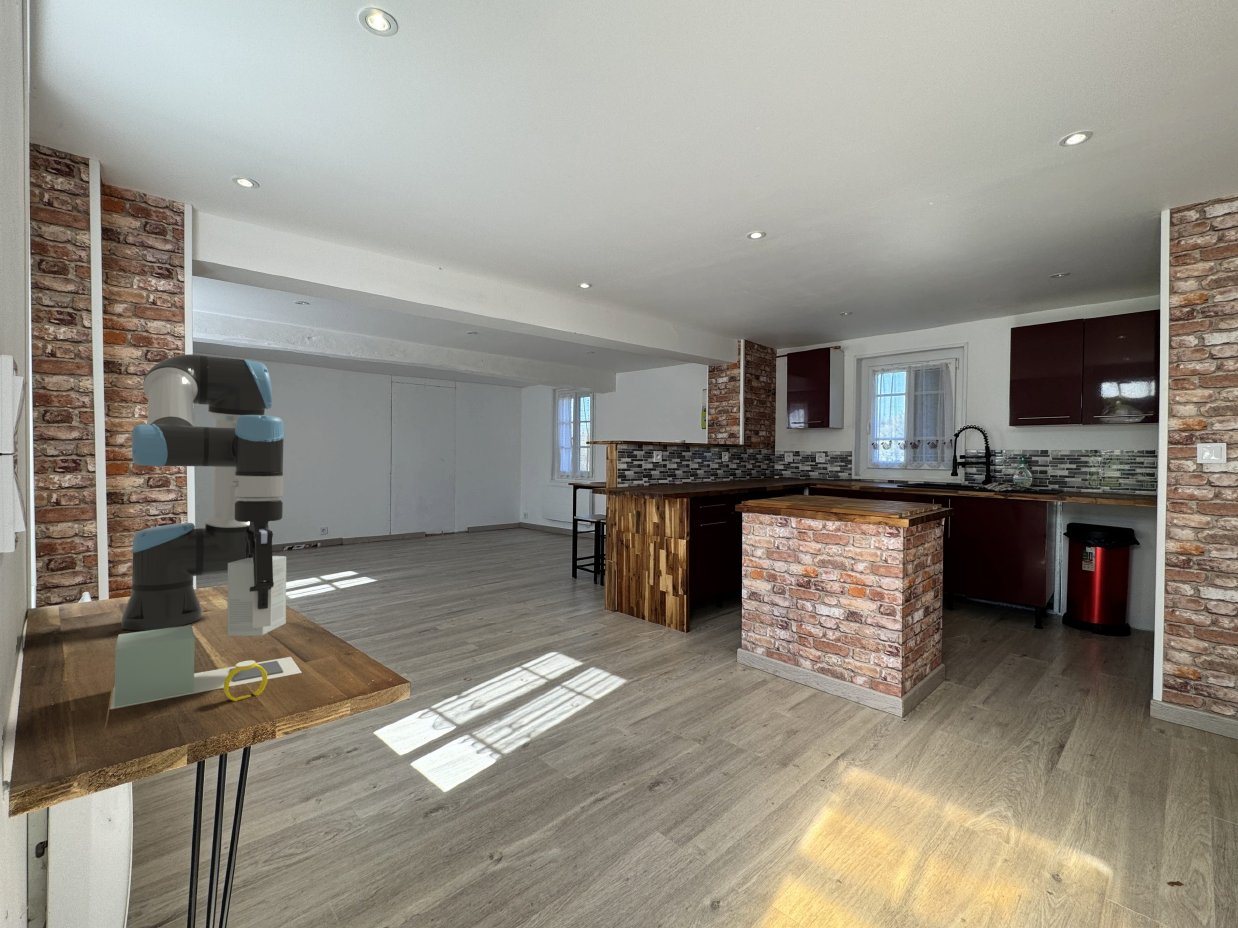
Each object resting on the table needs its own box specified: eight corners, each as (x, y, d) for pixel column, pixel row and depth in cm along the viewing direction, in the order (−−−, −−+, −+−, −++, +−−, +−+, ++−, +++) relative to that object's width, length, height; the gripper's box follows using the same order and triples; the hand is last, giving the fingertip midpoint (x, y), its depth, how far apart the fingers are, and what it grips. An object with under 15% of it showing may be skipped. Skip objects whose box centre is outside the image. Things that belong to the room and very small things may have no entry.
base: (113, 688, 98) (113, 685, 98) (290, 658, 115) (290, 655, 115) (109, 710, 89) (110, 706, 89) (301, 674, 106) (302, 670, 106)
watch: (228, 708, 92) (226, 671, 92) (222, 703, 94) (220, 667, 93) (270, 694, 96) (267, 659, 96) (263, 689, 98) (261, 655, 98)
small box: (252, 623, 110) (253, 555, 110) (286, 623, 110) (287, 555, 111) (225, 636, 102) (226, 562, 102) (262, 636, 102) (263, 562, 102)
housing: (117, 687, 98) (118, 634, 98) (190, 674, 104) (191, 624, 104) (114, 707, 90) (115, 649, 90) (193, 692, 96) (194, 638, 96)
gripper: (228, 497, 113) (226, 611, 113) (242, 503, 95) (240, 638, 95) (272, 496, 118) (271, 605, 117) (293, 501, 100) (291, 630, 100)
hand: (257, 620), depth 106 cm, fingers closed on small box, 10 cm apart
